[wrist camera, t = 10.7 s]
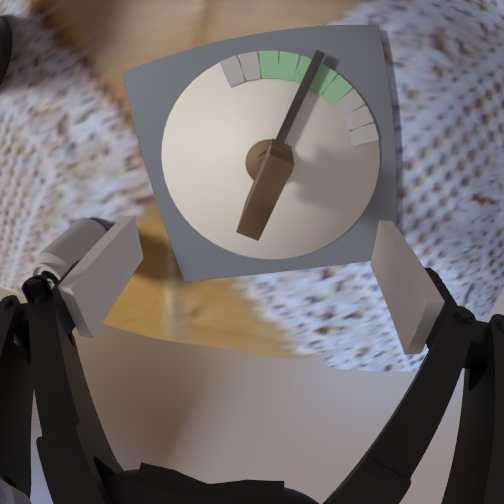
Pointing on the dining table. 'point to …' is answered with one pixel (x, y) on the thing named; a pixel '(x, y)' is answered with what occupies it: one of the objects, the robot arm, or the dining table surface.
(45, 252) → the can
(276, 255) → the dial board
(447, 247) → the dining table surface
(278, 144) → the dial pointer knob
